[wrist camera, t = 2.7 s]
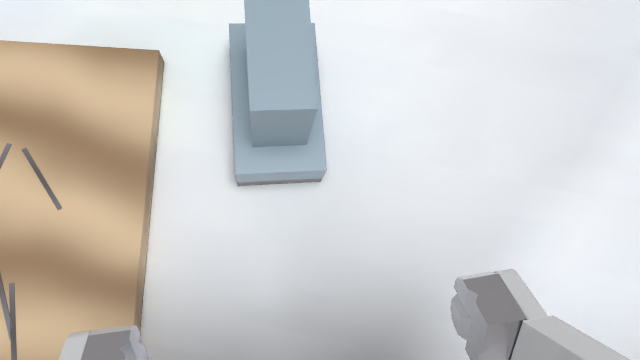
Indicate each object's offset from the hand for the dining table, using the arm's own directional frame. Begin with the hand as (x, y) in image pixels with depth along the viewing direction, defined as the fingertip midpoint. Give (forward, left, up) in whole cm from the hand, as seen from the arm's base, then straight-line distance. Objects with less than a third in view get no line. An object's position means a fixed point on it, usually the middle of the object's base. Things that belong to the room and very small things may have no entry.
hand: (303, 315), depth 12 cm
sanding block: (+11, +1, -16) cm, 19 cm away
